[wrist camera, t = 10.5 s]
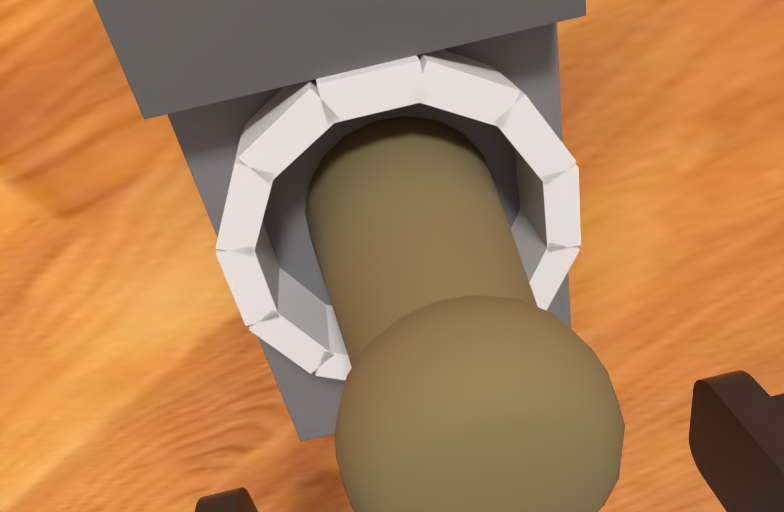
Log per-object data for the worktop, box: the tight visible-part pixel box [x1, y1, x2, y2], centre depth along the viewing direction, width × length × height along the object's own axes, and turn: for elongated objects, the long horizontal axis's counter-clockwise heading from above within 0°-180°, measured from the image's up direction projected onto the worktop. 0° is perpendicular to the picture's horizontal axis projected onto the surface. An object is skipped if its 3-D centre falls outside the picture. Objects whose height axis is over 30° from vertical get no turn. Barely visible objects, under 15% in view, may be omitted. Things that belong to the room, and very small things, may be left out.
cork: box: [305, 116, 625, 512], centre depth 14 cm, size 6×6×11 cm
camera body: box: [93, 0, 586, 442], centre depth 20 cm, size 11×18×8 cm, turn 11°
